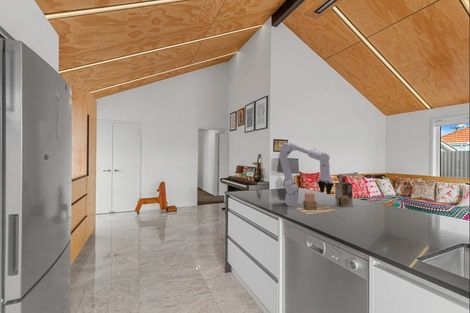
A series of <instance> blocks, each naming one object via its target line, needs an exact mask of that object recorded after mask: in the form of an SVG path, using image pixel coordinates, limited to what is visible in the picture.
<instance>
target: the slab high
mask: <svg viewBox="0 0 470 313" xmlns="http://www.w3.org/2000/svg"><path fill="white" fill-rule="evenodd" d="M302 203H303V204H302V205H303V206H304V205H306V206H317V201H316V200H315V202H307V201H305V199H304V200H303V202H302Z"/></svg>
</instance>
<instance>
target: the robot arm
mask: <svg viewBox="0 0 470 313" xmlns="http://www.w3.org/2000/svg"><path fill="white" fill-rule="evenodd" d="M293 151H297V152H301V153H303V154H305V155H308V158H311V159H313V160H317V161H319V173H320V174H319V176H320V177H317V182H316V183H317V185H318V188H319V191H320V193H325V192H326V194H327V195H331V192H332V189H333V186H335V183H334V181H333V179H332V178H331V176H330V175H331V174H330V160H331V158H330V157H331V156H330V155H329V154H328V153H326V152H325V153H324V152H323V151H319V150H317V148H311V149H309V148H307V147H304V146H301V145H299V144H296V143H291V142H283V143H282V144H281V146H280V150H279V155H278V157H279V158H278V159H279V161H280V165H281V168H282V172H283V175H284V178H285V192H286V194H285V198H284V199H285V203H284V204H285V206H288V207H297V206H298V207H299V203H298V202H299V201H298V200H299V198H298V196H299V194H298V190H299V185H298V184H297V182H296V180H295V179H294V177H293V176H294V175H293V173H292V170H291V167H290V166H291V165H290V163H289V159H288V157H289V155H290V154H291V153H292V152H293ZM325 190H326V191H325Z"/></svg>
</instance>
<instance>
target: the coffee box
mask: <svg viewBox="0 0 470 313" xmlns="http://www.w3.org/2000/svg"><path fill="white" fill-rule="evenodd" d="M352 184H353V183H352V182H351V183H350V182H335V183H334V186H335V187H334V192H335V193H334V194H335V195H334V196H335V197H334V198H335V206H336V207H339V208H348V207H349V208H351V207H352V208H353V185H352Z"/></svg>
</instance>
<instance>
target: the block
mask: <svg viewBox="0 0 470 313" xmlns="http://www.w3.org/2000/svg"><path fill="white" fill-rule="evenodd" d="M304 200H305V201H307V202H315V201H316V200H315V193H314V192H305V193H304Z"/></svg>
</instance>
